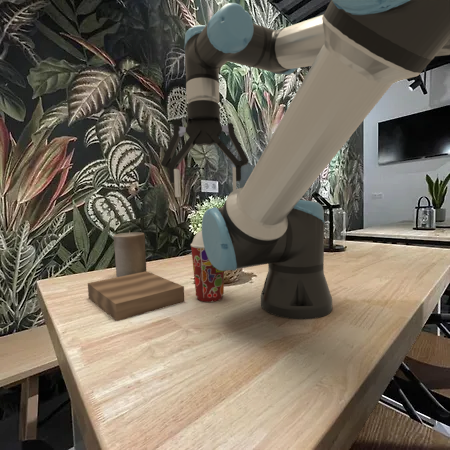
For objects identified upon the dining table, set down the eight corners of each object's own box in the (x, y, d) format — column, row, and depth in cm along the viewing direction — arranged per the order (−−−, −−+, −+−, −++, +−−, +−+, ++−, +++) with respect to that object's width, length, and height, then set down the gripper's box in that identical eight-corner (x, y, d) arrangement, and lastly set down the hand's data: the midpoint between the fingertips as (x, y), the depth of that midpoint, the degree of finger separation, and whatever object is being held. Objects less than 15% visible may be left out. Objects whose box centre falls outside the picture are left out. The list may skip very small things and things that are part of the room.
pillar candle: (151, 271, 99) (148, 228, 97) (140, 279, 89) (137, 231, 88) (124, 271, 100) (121, 228, 98) (110, 279, 90) (107, 232, 89)
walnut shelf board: (184, 302, 68) (183, 286, 67) (116, 323, 57) (115, 304, 57) (147, 284, 83) (146, 271, 83) (88, 298, 73) (87, 283, 72)
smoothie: (222, 306, 65) (220, 218, 63) (188, 304, 67) (184, 219, 65) (229, 293, 73) (227, 216, 71) (198, 292, 75) (195, 216, 73)
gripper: (256, 106, 69) (257, 195, 71) (154, 110, 70) (158, 197, 72) (258, 95, 61) (260, 194, 64) (144, 100, 63) (149, 197, 65)
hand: (206, 196), depth 68 cm, fingers open, 13 cm apart
